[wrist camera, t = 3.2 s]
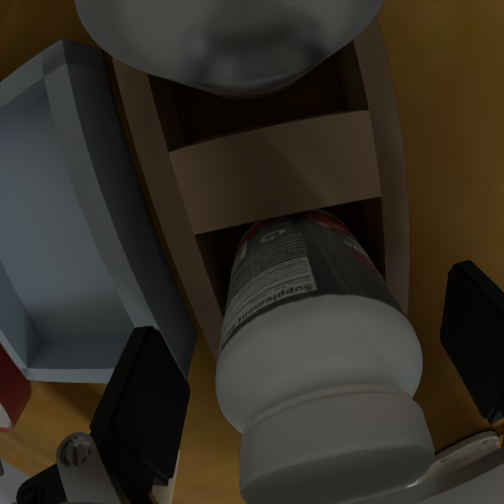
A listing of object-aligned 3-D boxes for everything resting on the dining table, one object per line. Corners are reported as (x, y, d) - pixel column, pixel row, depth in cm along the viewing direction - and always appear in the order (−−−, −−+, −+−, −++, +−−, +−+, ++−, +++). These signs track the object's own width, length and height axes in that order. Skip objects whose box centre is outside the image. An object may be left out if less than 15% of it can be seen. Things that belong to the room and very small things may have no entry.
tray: (101, 48, 9) (61, 38, 7) (197, 335, 15) (186, 379, 12) (-41, 148, 11) (-77, 161, 8) (47, 349, 17) (27, 379, 14)
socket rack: (324, -50, 7) (338, -79, 5) (380, 412, 18) (388, 440, 16) (123, -5, 8) (96, -23, 6) (265, 433, 19) (265, 463, 17)
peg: (290, -12, 8) (332, -145, 1) (319, 89, 10) (428, 62, 3) (176, 14, 9) (67, -85, 2) (203, 114, 11) (100, 129, 4)
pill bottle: (379, 264, 13) (484, 454, 4) (289, 331, 15) (307, 529, 6) (303, 174, 12) (415, 370, 3) (207, 260, 13) (145, 485, 5)
